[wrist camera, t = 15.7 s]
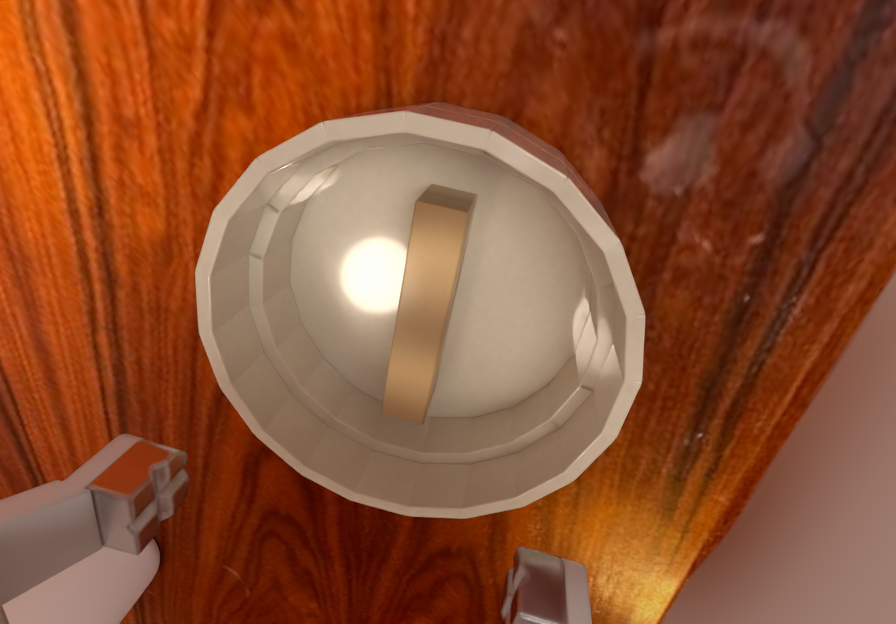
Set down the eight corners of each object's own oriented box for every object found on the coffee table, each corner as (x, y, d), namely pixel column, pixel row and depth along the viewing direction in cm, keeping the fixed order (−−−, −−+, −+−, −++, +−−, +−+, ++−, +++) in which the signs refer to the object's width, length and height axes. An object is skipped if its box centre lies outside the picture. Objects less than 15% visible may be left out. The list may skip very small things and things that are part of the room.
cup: (153, 512, 34) (14, 671, 25) (179, 616, 39) (73, 777, 30) (46, 488, 35) (-126, 634, 26) (86, 593, 40) (-44, 744, 31)
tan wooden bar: (431, 183, 20) (415, 199, 17) (478, 194, 20) (469, 212, 17) (397, 377, 25) (380, 414, 22) (435, 387, 25) (422, 425, 22)
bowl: (677, 152, 19) (734, 183, 13) (556, 460, 26) (561, 559, 21) (277, 64, 20) (181, 61, 14) (270, 385, 27) (205, 461, 22)
